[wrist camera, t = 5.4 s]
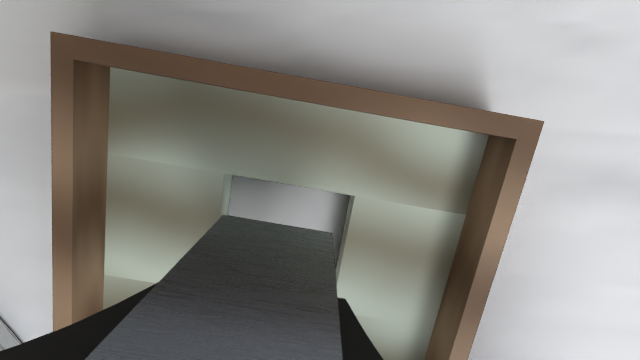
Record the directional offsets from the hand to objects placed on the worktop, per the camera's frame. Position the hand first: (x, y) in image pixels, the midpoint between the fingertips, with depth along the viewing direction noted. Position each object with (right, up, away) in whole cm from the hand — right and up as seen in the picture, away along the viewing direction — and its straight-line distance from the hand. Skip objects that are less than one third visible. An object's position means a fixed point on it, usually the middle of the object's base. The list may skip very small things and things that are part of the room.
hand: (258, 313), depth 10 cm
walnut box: (0, +1, +6) cm, 7 cm away
